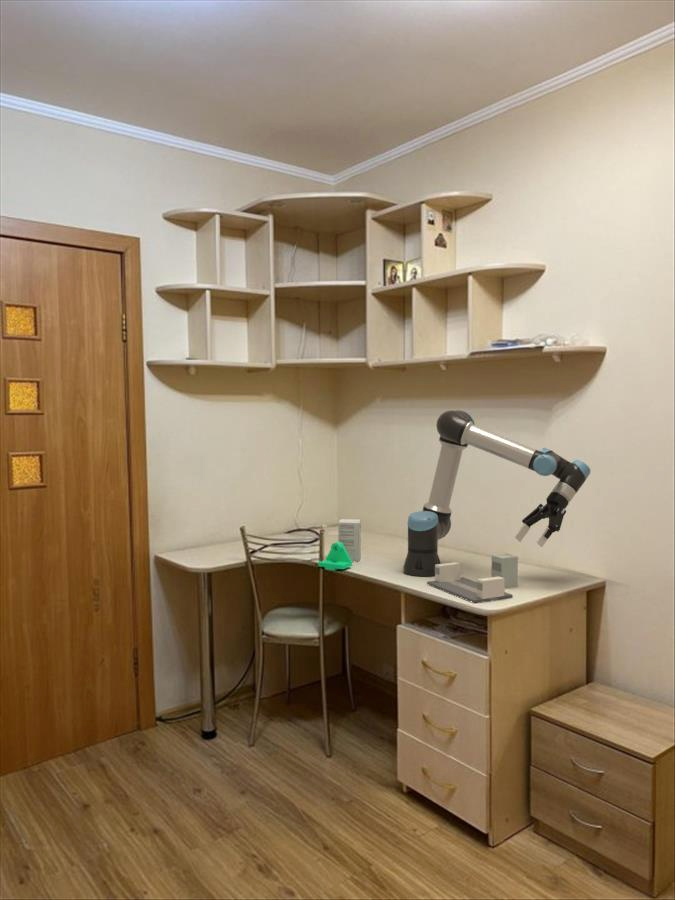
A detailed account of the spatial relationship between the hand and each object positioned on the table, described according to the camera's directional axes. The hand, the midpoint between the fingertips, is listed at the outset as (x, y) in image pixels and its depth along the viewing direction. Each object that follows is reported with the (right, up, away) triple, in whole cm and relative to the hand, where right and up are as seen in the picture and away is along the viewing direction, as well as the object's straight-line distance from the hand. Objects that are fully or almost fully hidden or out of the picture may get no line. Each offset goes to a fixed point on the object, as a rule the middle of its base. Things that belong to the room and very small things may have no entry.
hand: (527, 542), depth 250 cm
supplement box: (-64, -14, +44) cm, 79 cm away
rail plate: (-23, -16, -8) cm, 30 cm away
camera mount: (-71, -15, +28) cm, 77 cm away
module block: (-9, -16, -1) cm, 18 cm away
